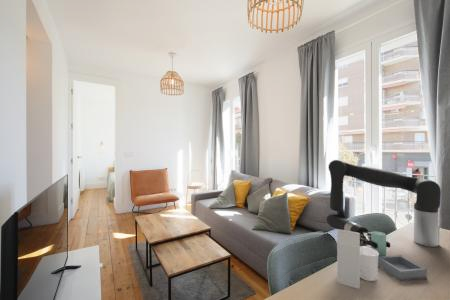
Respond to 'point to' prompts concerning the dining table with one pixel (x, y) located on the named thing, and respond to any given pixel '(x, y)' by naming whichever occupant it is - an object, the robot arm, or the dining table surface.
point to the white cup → (368, 263)
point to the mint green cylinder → (379, 242)
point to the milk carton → (348, 258)
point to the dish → (402, 268)
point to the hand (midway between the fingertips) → (383, 245)
